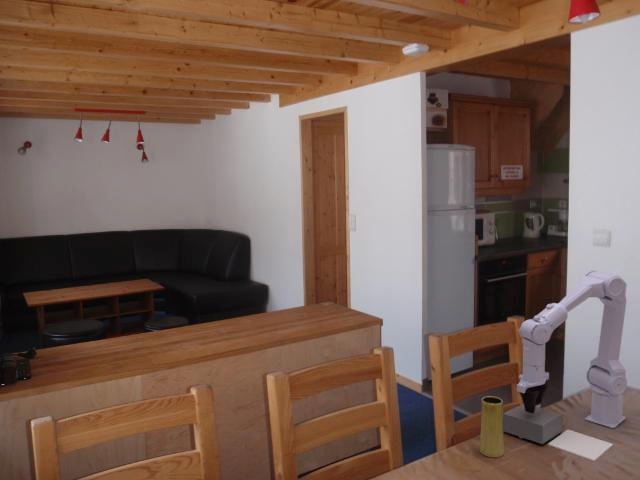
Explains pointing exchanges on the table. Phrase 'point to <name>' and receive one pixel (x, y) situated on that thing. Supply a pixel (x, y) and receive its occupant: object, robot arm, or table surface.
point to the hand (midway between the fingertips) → (532, 410)
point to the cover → (532, 423)
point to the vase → (492, 427)
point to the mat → (580, 445)
